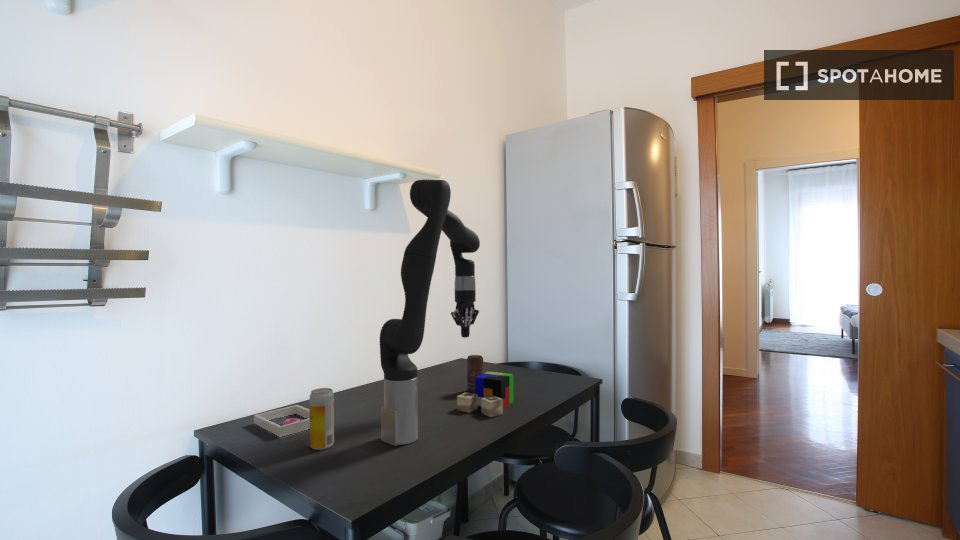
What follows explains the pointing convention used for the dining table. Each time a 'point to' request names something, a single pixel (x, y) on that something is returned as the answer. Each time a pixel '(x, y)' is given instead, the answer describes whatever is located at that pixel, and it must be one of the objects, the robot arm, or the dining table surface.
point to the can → (473, 371)
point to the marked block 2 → (492, 406)
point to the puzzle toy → (494, 386)
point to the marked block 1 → (467, 402)
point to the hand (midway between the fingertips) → (465, 337)
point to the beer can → (321, 418)
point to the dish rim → (285, 429)
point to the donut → (291, 420)
